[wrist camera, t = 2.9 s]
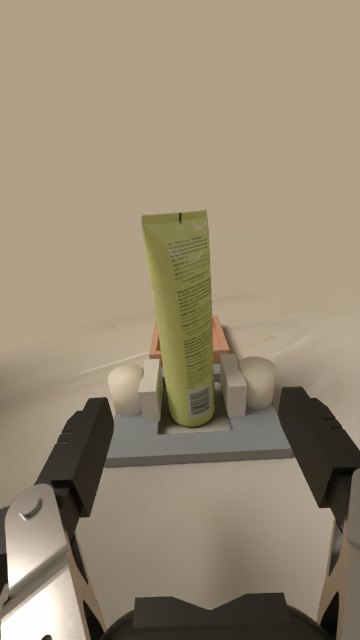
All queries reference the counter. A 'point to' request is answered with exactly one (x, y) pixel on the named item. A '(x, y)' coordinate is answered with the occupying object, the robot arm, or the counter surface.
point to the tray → (218, 342)
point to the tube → (183, 310)
